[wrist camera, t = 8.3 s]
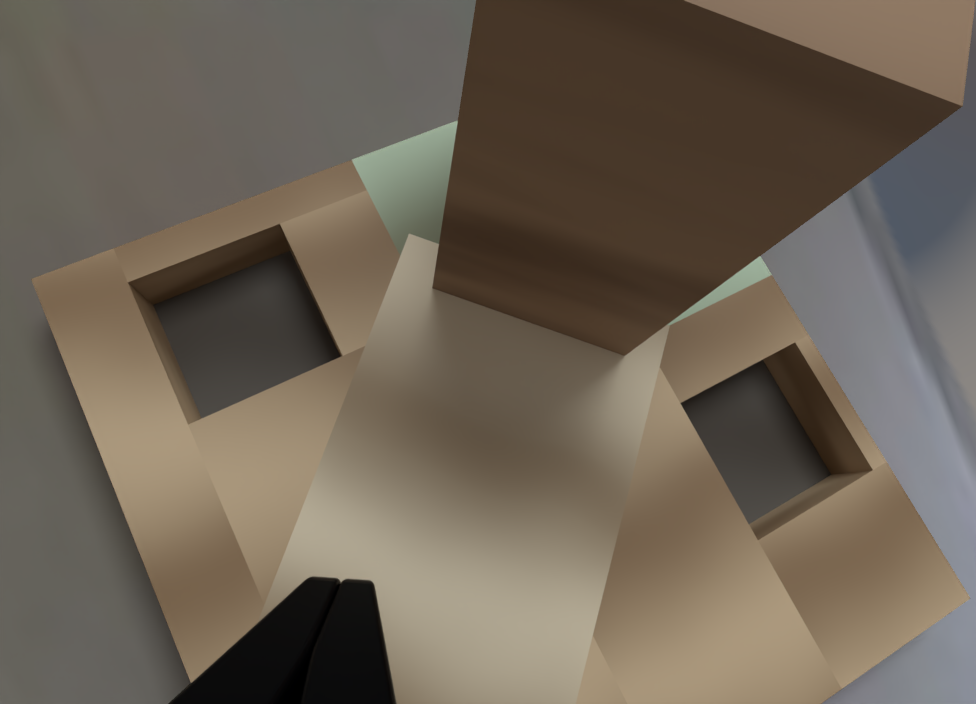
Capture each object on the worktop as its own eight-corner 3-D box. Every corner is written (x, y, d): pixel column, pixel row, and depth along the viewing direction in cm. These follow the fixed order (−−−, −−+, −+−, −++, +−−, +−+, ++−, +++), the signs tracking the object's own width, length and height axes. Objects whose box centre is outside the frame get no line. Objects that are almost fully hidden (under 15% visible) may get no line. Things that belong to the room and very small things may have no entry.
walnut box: (624, 356, 18) (963, 106, 7) (432, 288, 17) (488, -74, 7) (674, 171, 19) (1004, -250, 9) (499, 107, 19) (626, -405, 9)
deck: (913, 590, 19) (970, 598, 17) (342, 979, 15) (334, 1046, 13) (615, 94, 22) (636, 53, 20) (69, 304, 18) (30, 278, 16)
